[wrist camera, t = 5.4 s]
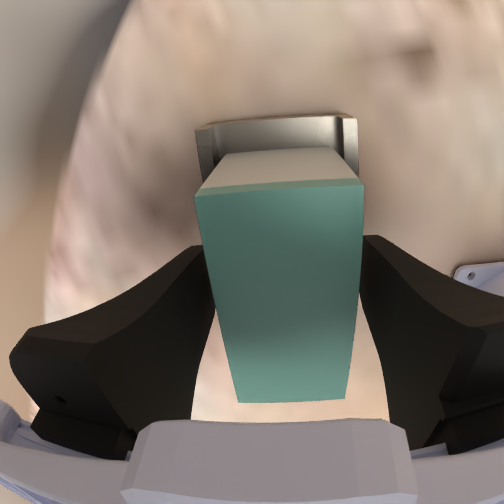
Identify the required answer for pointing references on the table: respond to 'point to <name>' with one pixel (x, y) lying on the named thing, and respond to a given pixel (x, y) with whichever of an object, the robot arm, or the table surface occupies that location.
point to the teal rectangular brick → (284, 269)
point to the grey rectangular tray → (277, 137)
